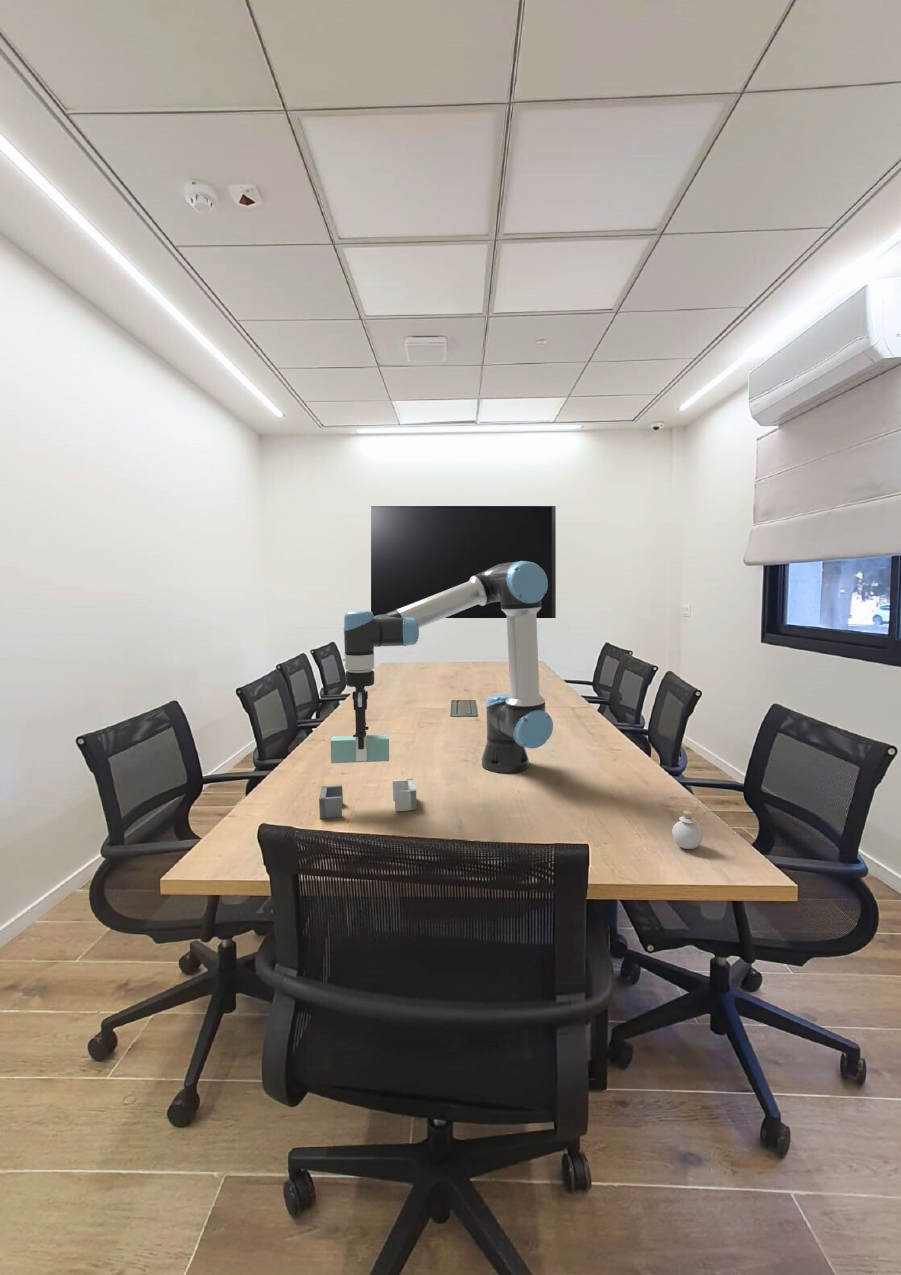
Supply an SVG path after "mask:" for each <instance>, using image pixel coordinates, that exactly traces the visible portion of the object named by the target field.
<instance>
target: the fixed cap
mask: <svg viewBox="0 0 901 1275" xmlns="http://www.w3.org/2000/svg"><path fill="white" fill-rule="evenodd" d="M319 792H320V793H319V798H318V804H319V806H318V807H319V819H320V818H322V819H333V818H332V817H334V818H342V817H343V805H344V800H343V799H344V795H343V785H342V784H338V785H337V784H336V785H326V786H325V785H324V786H323V785H322V786H321V787H320V791H319Z"/></svg>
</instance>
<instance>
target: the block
mask: <svg viewBox="0 0 901 1275" xmlns="http://www.w3.org/2000/svg"><path fill="white" fill-rule="evenodd" d="M366 751H367V761H356V737H353V735H342V736H341V735H338V736H337V735H336V736H335V735H334V736H331V738H330V764H349V763H352V764H353V763H374V762H375V763H376V762H389V761H390V736H389V734H374V735H372V734H371V735H367V734H366Z"/></svg>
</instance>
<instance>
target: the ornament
mask: <svg viewBox="0 0 901 1275" xmlns="http://www.w3.org/2000/svg"><path fill="white" fill-rule="evenodd" d="M695 808H696V809H698V808H699V806H698V804H696V806H695ZM682 813H683V815H682V816H680V817H678V818H679V820H678V821H676V823H675V824H673V827H672V830H671V836H672V839H673V841H674V843H675V844H676V845H677V846H679V847H681V849H685V850H693V849H696V848H697V847H698V846H700V844H701V842H702V839H703V834H702V830H701V828H700V827H699V825H697V823H696V819H695V818H693V817H692V815H693V812H692V811H691V810H683V811H682ZM701 814H702V815H703V817H705V816H706V814H709V813H708V812H706V810H705V809H704V810H703V812H701ZM698 823H699V824H700V825H701V824H703V822H702V821H700V822H698Z"/></svg>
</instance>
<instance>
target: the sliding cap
mask: <svg viewBox="0 0 901 1275" xmlns="http://www.w3.org/2000/svg"><path fill="white" fill-rule="evenodd" d="M416 789H417V788H416V786H415V783H414V779H413V778H405V779H403V778H402V779H392V799H393V800H394V810H395V811H394V812H403V811H404V812H406V811H413V810H418V809H417V806H418V805H417V790H416Z"/></svg>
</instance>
